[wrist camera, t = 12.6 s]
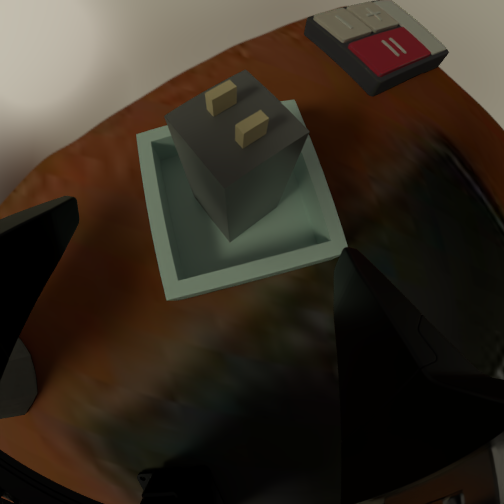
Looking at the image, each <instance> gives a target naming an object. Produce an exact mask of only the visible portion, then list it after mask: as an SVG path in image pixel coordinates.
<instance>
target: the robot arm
mask: <svg viewBox="0 0 504 504" xmlns="http://www.w3.org/2000/svg"><path fill="white" fill-rule="evenodd" d="M78 223H79V213H78V205H77V200H76V198H75V197H70V196H64V197H60V198H57V199H54V200H52V201H49V202H46V203H43V204H40V205H37V206H34V207H32V208H29V209H26V210H23V211H21V212H18V213H16V214H13V215H10V216H8V217H5V218H3V219H0V381H1V378H2V376H3V373H4V370H5V368H6V365H7V363H8V361H9V357H10V355H11V353H12V351H13V349H14V346H15V344H16V342H17V340H18V337H19V335H20V333H21V331H22V329H23V327H24V325H25V323H26V321H27V319H28V317H29V315H30V313H31V311H32V309H33V307H34V305H35V303H36V301H37V299H38V297H39V296H40V294H41V292H42V290H43V288H44V286H45V285H46V283H47V281H48V279H49V278H50V276H51V274H52V272H53V271H54V269H55V267H56V266H57V264H58V262H59V261H60V259H61V257H62V255H63V253H64V251H65V249H66V247H67V245H68V243H69V241H70V239H71V237H72V235H73V234H74V232H75V230H76V228H77V226H78ZM334 324H335V335H336V346H337V359H338V373H339V390H340V411H341V440H342V442H341V459H342V474H341V504H383V503H384V504H504V380H502V379H496V378H492V377H489V376H487V375H485V374H483V373H481V372H480V371H479V370H478V369H476V368H475V367H474V366H473V365H472V364H471V363H470V362H469V361H468V360H467V359H466V358H465V357H464V356H463V355H462V354H461V353H460V352H459V351H458V350H457V349H456V348H455V347H454V346H453V345H452V344H451V343H450V342H449V341H448V340H447V339H446V338H445V337H444V336H443V335H442V334H441V333H440V332H439V331H438V330H437V329H436V328H435V327H434V326H433V325H432V324H431V323H430V322H429V321H428V320H427V319H426V318H425V316H424V315H421V312H420V311H419V310H418V309H417V308H416V307H415V306H414V305H413V304H412V303H411V302H410V301H409V300H408V299H407V298H406V297H405V296H404V295H403V294H402V293H401V292H400V291H399V290H398V289H397V288H396V287H395V286H394V285H393V284H392V283H391V282H390V281H389V280H388V279H387V278H386V277H385V276H384V275H383V274H382V273H381V272H380V271H379V270H378V269H377V268H376V267H375V266H374V265H373V264H372V263H371V262H370V261H369V260H368V259H367V258H366V257H365V256H364V255H363V254H361V253H360V252H359V251H358V250H357V249H355V248H350V247H345V248H343V250H342V252H341V255H340V257H339V259H338V262H337V264H336V267H335V271H334ZM202 470H205V471H206V472H205V473H203V472H202ZM141 476H142V477H145V479H143V478H142V477H141ZM137 479H138V481H139V483H140V485H141V487H142V488H143V490H144V491H143V493H142V497H143V498H142V500H141V503H140V504H225V503H224V500H223V498H222V496H221V494H220V492H219V490H218V487H217V485H216V483H215V480H214V478H213V476H212V473H211V471H210V469H209V468H208V467H207V466H197V467H190V468H181V467H180V468H171V469H160V470H154V471H151V472H140V473H139V474H138V476H137ZM1 496H3V497H5V498H7V499H9V500H11V501H13V502H14V503H12V502H10V501H8V500H6V499H3V498H1ZM0 504H103V503H101V502H98V501H96V500H93V499H91V498H88V497H86V496H84V495H81V494H79V493H77V492H75V491H72V490H70V489H68V488H66V487H64V486H62V485H60V484H58V483H56V482H54V481H52V480H50V479H48V478H46V477H44V476H42V475H41V474H39V473H37V472H35V471H33V470H32V469H30V468H28V467H27V466H25V465H23V464H22V463H20V462H18V461H17V460H15V459H14V458H12V457H10V456H9V455H7V454H6V453H4V452H3V451H1V450H0Z"/></svg>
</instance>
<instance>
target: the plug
mask: <svg viewBox="0 0 504 504" xmlns="http://www.w3.org/2000/svg"><path fill="white" fill-rule="evenodd" d="M164 117H165V120H166V123H167V125H168V128H169V131H170V134H171V136H172V139H173V142H174V144H175V147H176V150H177V152H178V155H179V158H180V161H181V163H182V166H183V168H184V171H185V174H186V176H187V179H188V182H189V184H190V187H191V189H192V192H193V195H194V197H195V199H196V200H197V201H198V202H199V204H200V205H201V206H202V208H203V209H204V210H205V211H206V213H207V214H208V215H209V217H210V218H211V219H212V220H213V222H214V223H215V224H216V226H217V227H218V228H219V229H220V231H221V232H222V233H223V234H224V236H225V237H226V238H227V240H228V241H229V242H231V241H233V240H234V239H235V238H236V237H238V236H239V235H240V234H242V233H243V232H244V231H246V230H247V229H248V228H250V227H251V226H252V225H254V224H255V223H256V222H258V221H259V220H260V219H262V218H263V217H264V216H266V215H267V214H268V213H270V212H271V211H272V210H274V209H275V208H276V207H277V205H278V203H279V201H280V199H281V196H282V194H283V192H284V190H285V187H286V185H287V183H288V180H289V178H290V176H291V174H292V171H293V169H294V167H295V164H296V162H297V160H298V158H299V155H300V153H301V151H302V148H303V146H304V144H305V141H306V139H307V137H308V135H309V132H310V131H309V130H308V129H307V128H306V127H305V126H304V125H303V124H302V123H301V122H300V121H299V120H298V119H297V118H296V117H295V116H294V115H293V114H292V113H291V112H290V111H289V110H288V109H287V108H286V107H285V106H284V105H283V104H282V103H281V102H280V101H279V100H278V99H277V98H276V97H275V96H274V95H273V94H272V93H271V92H269V91H268V90H267V89H266V88H265V87H264V86H263V85H262V84H261V83H260V82H259V81H258V80H257V79H255V78H254V77H253V76H252V75H251V74H250V73H249V72H248V71H246V70H244V71H242V72H240V73H238V74H236V75H234V76H232V77H230V78H228V79H226V80H224V81H223V82H221V83H219V84H217V85H215V86H213V87H212V88H210V89H208V90H206V91H204V92H203V93H201V94H199V95H198V96H196V97H194V98H192V99H191V100H189V101H187V102H186V103H184V104H183V105H181V106H179V107H178V108H176V109H174V110H173V111H171V112H170V113H168V114H167V115H165V116H164Z"/></svg>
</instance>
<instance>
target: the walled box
mask: <svg viewBox="0 0 504 504" xmlns="http://www.w3.org/2000/svg"><path fill="white" fill-rule="evenodd" d="M281 103H282V104H283V105H284V106H285V107H286V108H287V109H288V110H289V111H290V112H291V113H292V114H293V115H294V116H295V117H296V118H297V119H298V120H299V121H300V122H301V123H302V124H303V125H304V126H305V124H304V121H303V119H302V116H301V114H300V112H299V109H298V107H297V104H296V102H295V100H288V101H281ZM305 127H306V126H305ZM136 136H137V144H138V152H139V160H140V167H141V174H142V180H143V187H144V193H145V199H146V205H147V210H148V216H149V221H150V227H151V232H152V237H153V242H154V247H155V252H156V256H157V261H158V266H159V270H160V275H161V279H162V283H163V287H164V292H165V296H166V300H182V299H186V298H190V297H194V296H198V295H202V294H206V293H210V292H214V291H218V290H221V289H225V288H229V287H233V286H237V285H241V284H244V283H248V282H252V281H256V280H259V279H263V278H267V277H271V276H274V275H278V274H282V273H285V272H289V271H292V270H296V269H300V268H303V267H307V266H310V265H314V264H318V263H321V262H325V261H328V260H331V259H334V258H336V257H338V256H340V255H341V252H342V250H343V248H345V247H348V246H347V242H346V239H345V236H344V233H343V229H342V226H341V223H340V220H339V217H338V214H337V211H336V208H335V205H334V202H333V199H332V196H331V193H330V190H329V187H328V184H327V182H326V179H325V176H324V173H323V170H322V168H321V165H320V162H319V160H318V157H317V154H316V152H315V149H314V146H313V144H312V141H311V139H310V136H309V135H308V137H307V139H306V141H305V144H304V146H303V148H302V151H301V153H300V155H299V158H298V160H297V162H296V164H295V167H294V169H293V171H292V174H291V176H290V178H289V180H288V183H287V185H286V187H285V190H284V192H283V194H282V196H281V199H280V201H279V203H278V205H277V207H276V208H275V209H274V210H272V211H271V212H270V213H268V214H267V215H266V216H264V217H263V218H262V219H260V220H259V221H258V222H256V223H255V224H254V225H252V226H251V227H250V228H248V229H247V230H246V231H244V232H243V233H242V234H240V235H239V236H238V237H236V238H235V239H234V240H233V241H231V242H229V241H228V240H227V238H226V237H225V236H224V234H223V233H222V232H221V231H220V229H219V228H218V227H217V226H216V224H215V223H214V222H213V220H212V219H211V218H210V217H209V215H208V214H207V213H206V211H205V210H204V209H203V208H202V206H201V205H200V204H199V202H198V201H197V200H196V199H195V197H194V195H193V192H192V189H191V187H190V184H189V182H188V179H187V176H186V174H185V171H184V168H183V166H182V163H181V161H180V158H179V155H178V152H177V150H176V147H175V144H174V142H173V139H172V136H171V134H170V131H169V128H168V125H167V126H163V127H160V128H156V129H153V130H149V131H146V132H143V133H139V134H136Z"/></svg>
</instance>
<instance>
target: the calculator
mask: <svg viewBox="0 0 504 504" xmlns="http://www.w3.org/2000/svg"><path fill="white" fill-rule="evenodd" d="M304 35H305V36H306V37H308V38H309V39H310V40H311V41H312V42H314V43H315V44H316V45H317V46H318V47H319V48H320V49H322V50H323V51H324V52H325V53H326V54H327V55H328V56H329V57H331V58H332V59H333V60H334V61H335V62H336V63H337V64H338V65H339V66H340V67H341V68H342V69H343V70H344V71H346V72H347V73H348V74H349V75H350V76H351V77H352V78H353V79H354V80H355V81H356V82H357V83H358V84H359V85H360V86H361V87H362V88H363V90H364V91H365V92H366V93H367V94H368V95H370V96H375V95H377V94H379V93H382V92H384V91H386V90H388V89H390V88H392V87H394V86H396V85H398V84H400V83H402V82H404V81H406V80H408V79H410V78H412V77H415V76H417V75H419V74H421V73H425V72H427V71H430V70H432V69H434V68H437V67H438V66H439V65H440V63H441V62H442V61H443V59H444V58H445V57H446V56H447V54H448V53H449V52H448V50H447V49H446V47H445V46H444V45H443V44H442V43H441V42H440V41H439V40H438V39H437V38H436V37H434V36H433V35H432V34H431V33H430V32H429V31H428V30H427V29H426V28H425V27H424V26H422V25H421V24H420V23H419V22H418V21H417V20H416V19H414V18H413V17H412V16H411V15H410V14H408V13H407V12H406V11H405V10H403V9H402V8H401V7H400V6H398V5H397V4H396V3H395V2H393V1H392V0H377V1H372V2H365V3H361V4H356V5H351V6H348V7H344V8H339V9H335V10H331V11H327V12H324V13H320V14H317V15H314V16H311V17H308V18H307V22H306V27H305V32H304Z"/></svg>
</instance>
